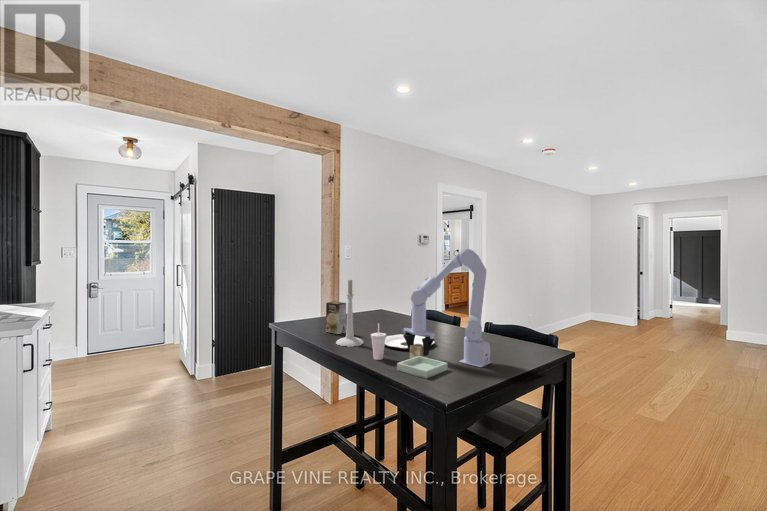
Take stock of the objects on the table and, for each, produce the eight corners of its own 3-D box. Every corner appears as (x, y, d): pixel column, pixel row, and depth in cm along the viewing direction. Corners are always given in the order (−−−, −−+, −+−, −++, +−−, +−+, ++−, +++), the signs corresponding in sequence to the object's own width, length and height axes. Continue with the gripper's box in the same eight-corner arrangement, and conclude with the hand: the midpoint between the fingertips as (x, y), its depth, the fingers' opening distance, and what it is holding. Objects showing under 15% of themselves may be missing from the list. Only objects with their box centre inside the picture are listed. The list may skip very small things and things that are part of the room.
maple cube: (427, 358, 143) (427, 345, 143) (419, 360, 139) (419, 348, 139) (417, 355, 147) (417, 343, 146) (409, 358, 143) (409, 345, 143)
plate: (441, 342, 170) (441, 338, 170) (422, 355, 148) (422, 350, 148) (394, 336, 182) (395, 332, 182) (370, 347, 160) (370, 343, 160)
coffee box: (325, 333, 186) (325, 302, 186) (333, 330, 191) (333, 301, 191) (338, 335, 181) (339, 304, 181) (346, 333, 186) (346, 302, 186)
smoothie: (386, 356, 145) (386, 322, 145) (386, 360, 139) (386, 325, 138) (370, 356, 145) (370, 322, 145) (370, 360, 138) (370, 325, 138)
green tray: (447, 369, 128) (447, 362, 128) (426, 378, 119) (426, 371, 119) (418, 362, 137) (418, 355, 137) (396, 370, 128) (397, 363, 128)
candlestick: (331, 342, 167) (331, 278, 167) (355, 338, 174) (355, 277, 174) (343, 348, 156) (344, 280, 156) (368, 344, 163) (369, 279, 163)
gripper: (439, 321, 141) (439, 355, 141) (410, 316, 151) (410, 348, 151) (429, 323, 136) (428, 358, 136) (400, 318, 146) (399, 351, 146)
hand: (418, 353), depth 143 cm, fingers open, 7 cm apart
